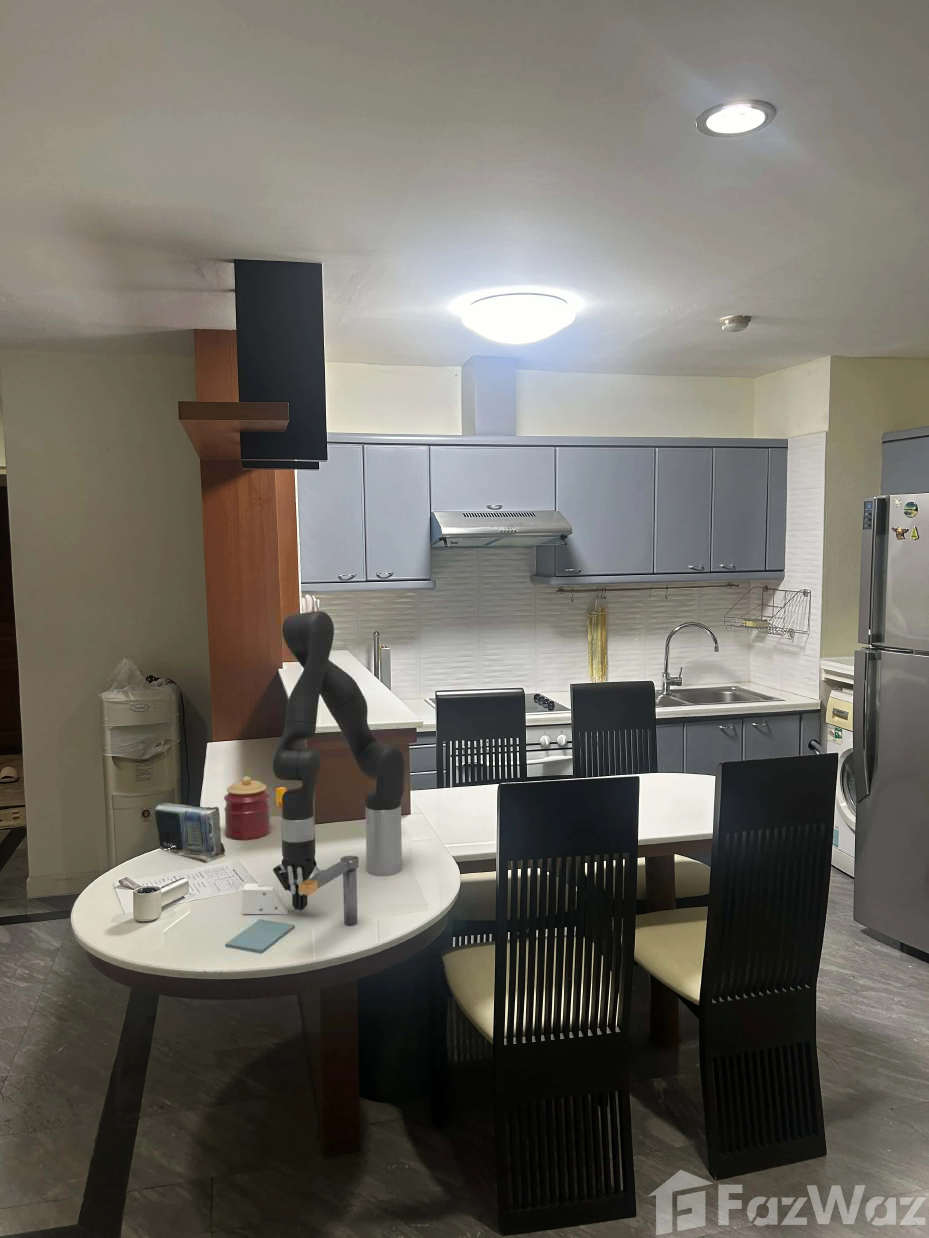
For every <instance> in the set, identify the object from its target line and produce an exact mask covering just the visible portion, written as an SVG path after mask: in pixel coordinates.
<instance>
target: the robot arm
mask: <svg viewBox="0 0 929 1238" xmlns="http://www.w3.org/2000/svg"><path fill="white" fill-rule="evenodd" d="M281 631H282V632H281V634H282V637H283V640H284V642H285V644H286V646H287V648H288V649H289V651H290V652H291V654H292V655H293V656H294V658H295V659H296V660H297V662H298V663H299V665H300V666H301V667H302V668H303V669H302V670H303V671H301V672H302V673H301V674H300V676H299V678H298V680H297V681H296V683H295V685H294V687H293V689H292V690H291V693H290V695H289V698H288V701H287V704H286V705H287V706H286V713H285V721H284V722H285V723H284V730H283V733H282V736H281V739H280V742H279V744H278V747H277V749H276V752H275V754H274V757H273V760H272V770H273V775H275V777H276V778H277V779H278V780H281V781H302V785H301V786H300V787H297V788H292V789H286V792H284V793H283V795H282V806H281V817H282V818H281V819H282V820H281V855H282V859H281V864H280V863H279V864H278V865H276V866H275V867H273V869H272V871H273V873H274V875H275V877H276V878H277V880H278V881H279V883H280V885H281V886H282V888H283V889H284V890H285V891H289V892H290V893H291V897H292V898H291V900H292V904H291V905H292V907H293V910H295V911H300V912H302V911H303V910H304V909H306V907H307V906H308V904H309V903H308V895H305V894H300V893H299V884H300V883H302V882H303V881H305V880H307V879H311V875H312V877H314V876H316V875H317V874H319V873H321V872H323V871H324V870H325V869H324V870H321V869H320V868H319V867H318V866H317V865H318V864H317V861H316V858H315V857H316V824H315V822H316V821H315V816H314V808H313V800H314V795H315V789H316V784H317V780H318V777H319V773H320V769H321V758H320V756H319V754H318V753H317V751H316V750H314V749H310V748H309V749H308V748H307V749H306V748H304V749H301V748H295V747H296V745H298V743H299V742H301V741H306V740H309V739H310V740H311V739H313V738H314V737H315V736H316V730H317V722H318V719H317V718H318V710H319V709H318V708H319V702H320V696H321V698H322V701H323V702H324V704H325V706H326V707H327V710H328V712H329V713H330V714H331V716H332V718H333V719H334V720H335V722H336V725H337V726H338V728H339V730H340V731H341V733H342V735H343V736H344V738H345V740H346V741H347V743H348V746H349V748H350V750H351V753H352V755H353V757H354V760H355V762H356V764H357V767H358V768H359V770H360V771H361V773H362V774H363V775H365V776H366V777H368V778H370V779H374V780H376V787H375V790H374V791H370V792H368V793H367V794H366V796H365V801H364V802H365V805H364V806H365V850H366V851H365V852H366V853H365V855H366V857H365V858H366V861H365V862H366V872H367V873H368V874H370V875H373V876H380V877H385V876H392V875H396V874H398V873H400V872H402V869H403V853H402V852H403V851H402V850H403V846H402V843H403V839H402V834H403V833H402V799H403V796H404V795H403V794H404V791H405V790H404V789H405V772H406V771H405V770H406V769H405V767H406V766H405V757H404V754H403V752H402V750H401V749H400V748H399V747H396V746H394V745H389V744H385V743H381V742H380V741H378V739H377V738H376V737H375V735H374V734H373V731H372V730H371V729H370V727H369V723H368V710H369V709H368V702H367V700H366V698H365V695H364V693H363V692H362V690H361V688H360V687H359V684H358V683H357V682H356V680H355V679H354V678H353V677H352V676H351V675H350V674H348V672H346V671H345V670H343V669H342V668H340V667H339V666H338V665H336V664H335V663H334V662H332V661H331V660H330V659H329V658H330V655H331V650H332V648H333V647H332V646H333V644H334V643H333V642H334V637H335V625H334V622H333V619H332V617H331V616H330V615H329V614H328V613H327V612H325V611H323V610H315V611H307V612H300V613H295V614H291V615H289V616H287V617H285V619H284V620H283V623H282V628H281Z"/></svg>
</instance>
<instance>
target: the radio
mask: <svg viewBox="0 0 929 1238" xmlns="http://www.w3.org/2000/svg"><path fill="white" fill-rule="evenodd" d="M154 815H155V816H154V817H155V822H156V828H157V833H158V841H159V849H160V850H163V849H167V850H163V851H165V852H168V851H169V850H170V852H169V854H170V853H171V854H173V855H176V854H177V856H180V857H184V858H187V859H190V860H195V861H198V862H201V863H205V864H209V863H211V862H213V861H217V860H219V859H221V858H224V857H226V848H225V846H224V843H223V842H222V835H221V834H222V832H221V831H222V830H221V829H222V828H221V816H220V808H219V807H218V806H214V807H207V806H193V805H188V804H180V803H179V804H178V803H169V802H163V803H157V804H156V807H155V808H154ZM172 846H175V847H172ZM171 847H172V848H171ZM168 848H170V849H168Z"/></svg>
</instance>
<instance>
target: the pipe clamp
mask: <svg viewBox="0 0 929 1238" xmlns="http://www.w3.org/2000/svg"><path fill="white" fill-rule="evenodd" d="M286 791H287V787H284V786H280V787H277V788H275V799H276V801H275V802H276V806H277V807H282V795H283V793H284V792H286Z"/></svg>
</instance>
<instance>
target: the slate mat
mask: <svg viewBox="0 0 929 1238" xmlns="http://www.w3.org/2000/svg"><path fill="white" fill-rule="evenodd" d="M295 928H296V926H295V924H292V923H286V922H280V921H273V920H269V919H268V920H267V919H263V918H262V919H261V918H260V919H258V920H257V921H255V922H254V923H252V924H251V925H250V926H248V927H247V928H244V930H242V931H241V932H240V933H237V935H236V936H234V937H233V938H231V939H229V940H228V941H227V942H225V945H224V946H225V947H226V948H229V949H234V950H241V951H247V952H250V953H251V952H252V953H257V954H261V955H263V954H264V953H265V952H266V951H267V950H268V949H270V948H272V947H273V946H274V945H275V944H276V943H277V942H279V941H280V940H281V939H282V938H284V937H285V936H287V935H288V934H289V933H291V932H292V931H293V930H294V929H295Z"/></svg>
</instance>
